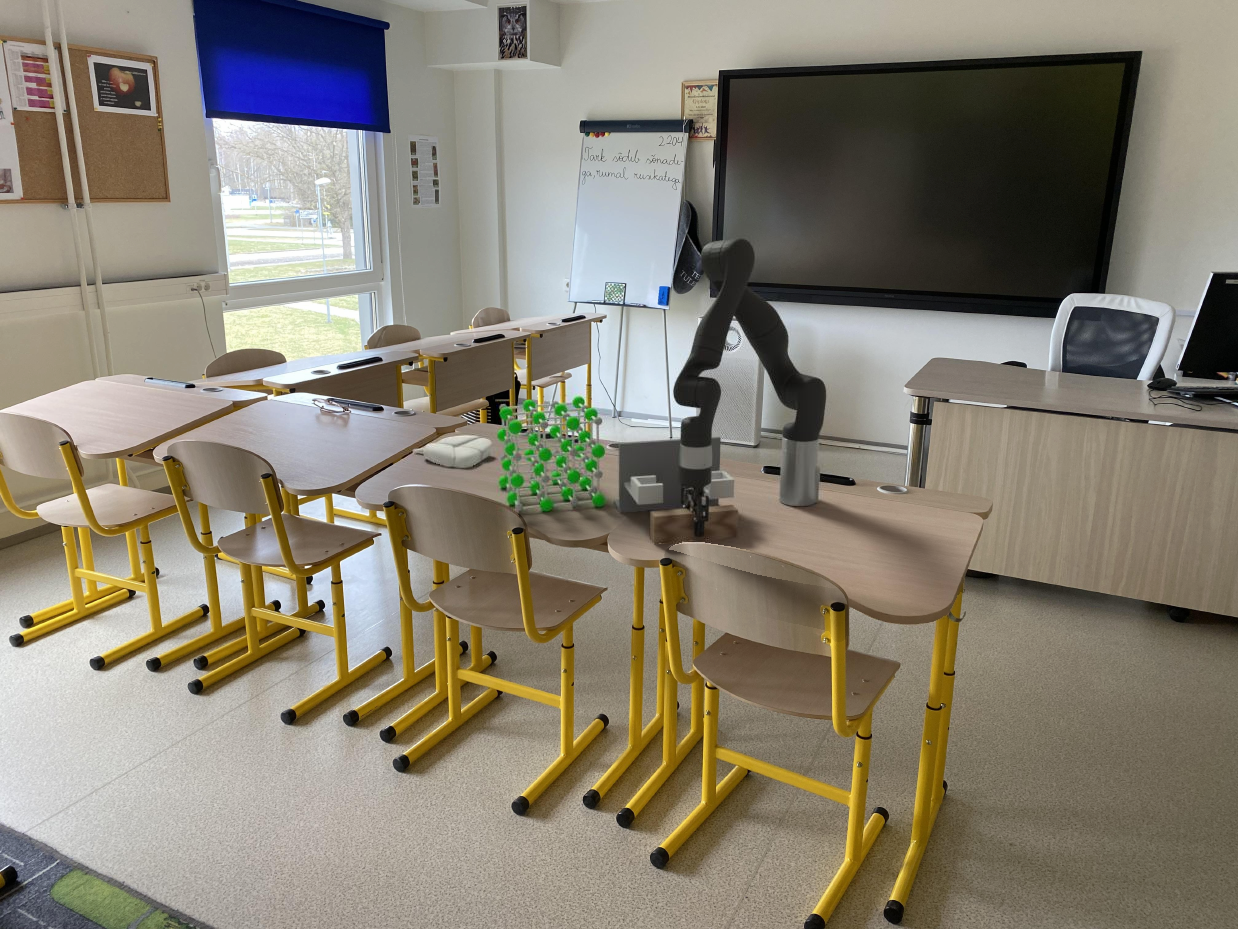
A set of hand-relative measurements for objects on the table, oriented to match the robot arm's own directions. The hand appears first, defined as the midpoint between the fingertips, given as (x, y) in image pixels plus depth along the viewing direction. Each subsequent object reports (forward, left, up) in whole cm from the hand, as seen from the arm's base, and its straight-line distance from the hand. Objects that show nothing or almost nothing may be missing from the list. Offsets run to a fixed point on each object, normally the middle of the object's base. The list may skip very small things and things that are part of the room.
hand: (693, 530), depth 213 cm
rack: (0, -17, -2) cm, 17 cm away
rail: (0, 0, -2) cm, 2 cm away
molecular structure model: (+28, -37, -2) cm, 46 cm away
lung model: (+53, -80, -3) cm, 96 cm away
